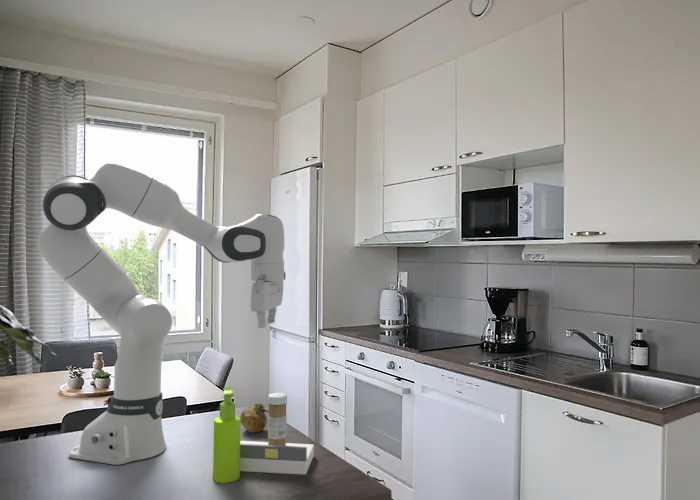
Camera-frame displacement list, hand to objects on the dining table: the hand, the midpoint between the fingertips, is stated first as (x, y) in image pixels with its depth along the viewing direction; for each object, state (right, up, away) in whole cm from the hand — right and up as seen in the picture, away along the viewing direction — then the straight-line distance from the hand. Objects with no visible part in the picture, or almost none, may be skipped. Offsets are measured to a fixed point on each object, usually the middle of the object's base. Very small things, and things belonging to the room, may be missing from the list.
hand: (266, 325), depth 143 cm
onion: (-5, -31, +7) cm, 32 cm away
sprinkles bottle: (+5, -28, -15) cm, 33 cm away
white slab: (+3, -31, -16) cm, 35 cm away
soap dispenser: (-5, -31, -25) cm, 40 cm away
